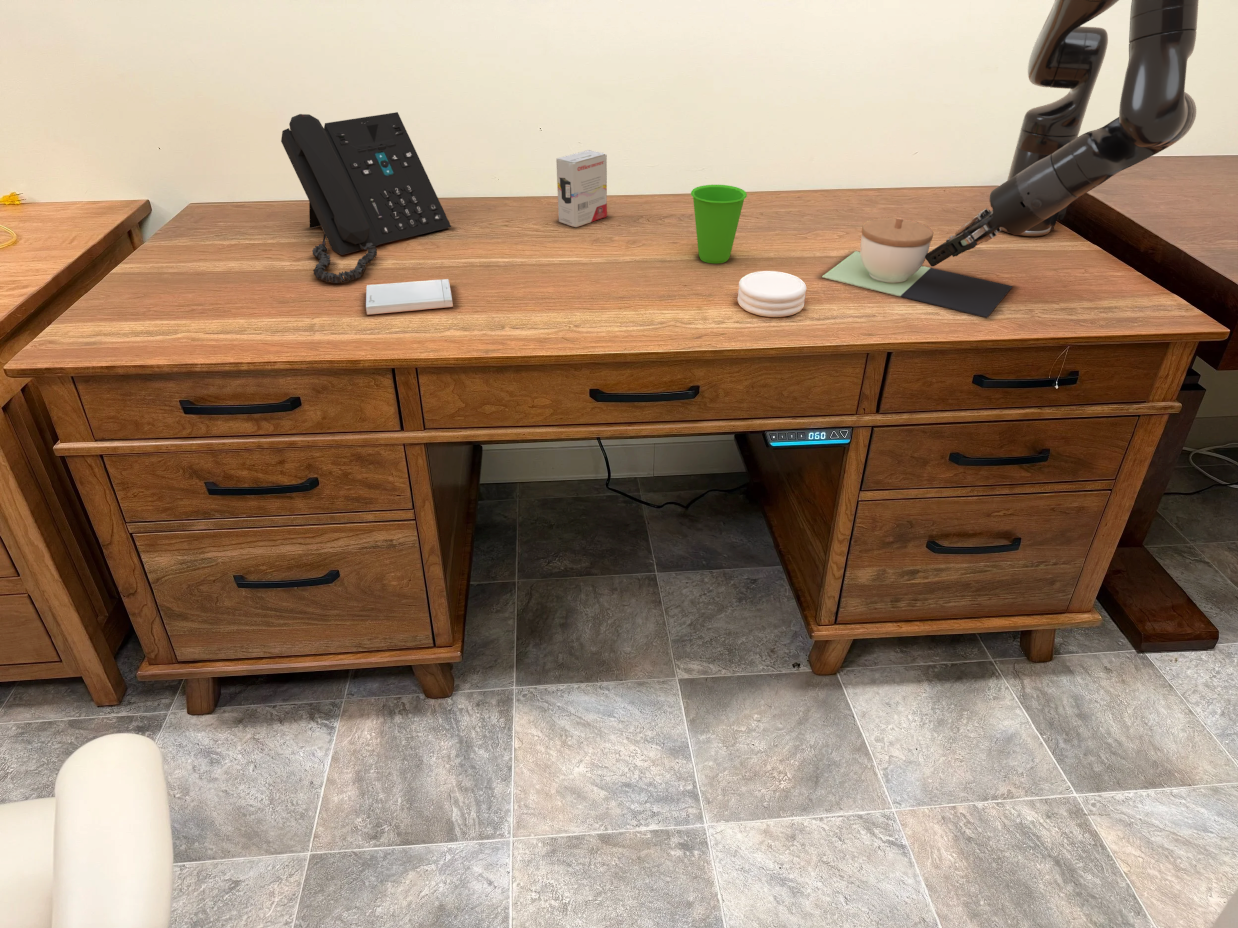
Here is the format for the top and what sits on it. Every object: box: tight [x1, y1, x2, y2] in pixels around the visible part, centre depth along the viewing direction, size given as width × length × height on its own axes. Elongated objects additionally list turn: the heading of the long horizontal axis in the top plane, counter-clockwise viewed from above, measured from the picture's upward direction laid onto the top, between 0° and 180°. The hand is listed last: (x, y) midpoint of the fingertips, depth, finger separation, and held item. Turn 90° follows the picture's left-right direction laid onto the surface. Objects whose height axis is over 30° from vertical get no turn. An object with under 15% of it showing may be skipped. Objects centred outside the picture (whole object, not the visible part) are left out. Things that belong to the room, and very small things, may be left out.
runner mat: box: [821, 250, 1013, 319], centre depth 133 cm, size 26×14×1 cm, turn 55°
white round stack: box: [736, 270, 807, 318], centre depth 125 cm, size 10×10×4 cm
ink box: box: [555, 149, 608, 228], centre depth 154 cm, size 9×5×12 cm, turn 136°
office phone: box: [280, 111, 452, 284], centre depth 141 cm, size 29×28×20 cm
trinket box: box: [859, 216, 934, 283], centre depth 132 cm, size 11×11×9 cm
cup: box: [690, 184, 748, 264], centre depth 138 cm, size 9×9×11 cm
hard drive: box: [365, 278, 454, 316], centre depth 126 cm, size 2×8×12 cm
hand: (929, 260), depth 130 cm, fingers closed
